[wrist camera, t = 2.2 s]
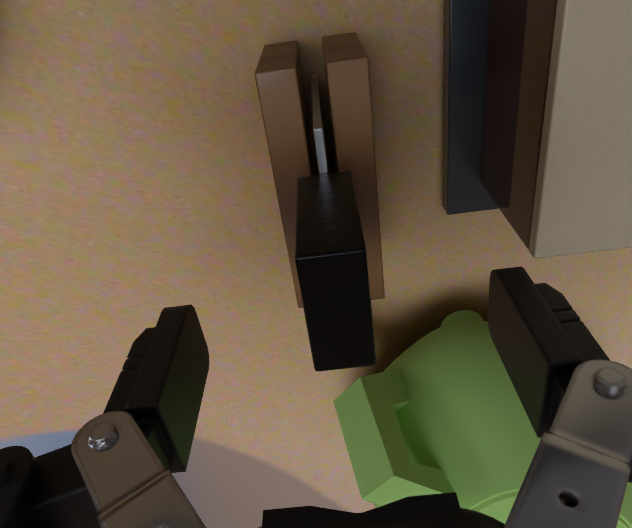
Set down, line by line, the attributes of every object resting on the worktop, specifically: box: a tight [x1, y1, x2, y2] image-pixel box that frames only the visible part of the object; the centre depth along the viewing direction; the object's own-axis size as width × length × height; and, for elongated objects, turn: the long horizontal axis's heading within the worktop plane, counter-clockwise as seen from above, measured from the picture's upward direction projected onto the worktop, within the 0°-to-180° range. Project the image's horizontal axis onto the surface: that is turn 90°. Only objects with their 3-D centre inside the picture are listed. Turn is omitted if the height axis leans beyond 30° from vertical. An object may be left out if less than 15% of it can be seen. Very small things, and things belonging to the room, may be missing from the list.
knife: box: [295, 76, 376, 371], centre depth 19 cm, size 7×2×12 cm, turn 7°
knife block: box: [255, 33, 385, 308], centre depth 22 cm, size 10×4×5 cm, turn 7°
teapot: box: [334, 310, 632, 528], centre depth 27 cm, size 20×13×13 cm
